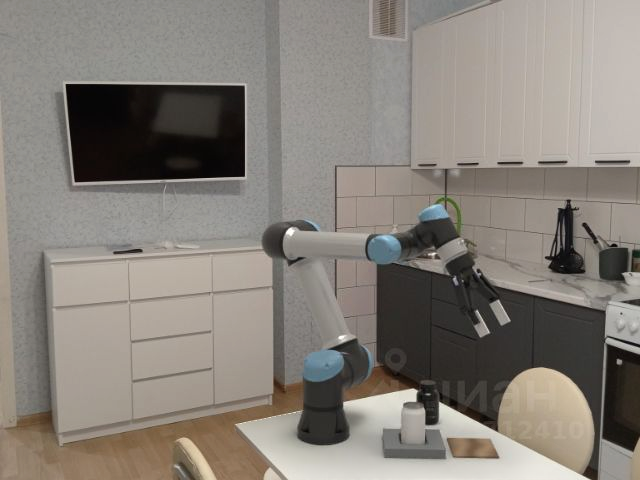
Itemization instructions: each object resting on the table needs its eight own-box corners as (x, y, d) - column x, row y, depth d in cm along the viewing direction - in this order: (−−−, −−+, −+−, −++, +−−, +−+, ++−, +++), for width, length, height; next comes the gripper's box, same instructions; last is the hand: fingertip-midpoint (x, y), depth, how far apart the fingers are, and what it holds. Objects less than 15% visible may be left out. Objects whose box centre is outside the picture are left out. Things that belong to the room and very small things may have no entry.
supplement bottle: (442, 419, 199) (442, 381, 198) (434, 426, 193) (434, 387, 192) (421, 415, 202) (421, 377, 201) (412, 422, 197) (412, 383, 195)
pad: (453, 457, 172) (453, 455, 172) (446, 439, 184) (446, 437, 184) (499, 458, 171) (499, 456, 171) (490, 440, 183) (490, 438, 183)
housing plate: (384, 457, 172) (384, 448, 172) (382, 436, 186) (382, 428, 185) (445, 458, 171) (445, 449, 171) (439, 437, 185) (439, 429, 184)
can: (424, 453, 174) (424, 409, 173) (400, 451, 176) (400, 408, 175) (425, 443, 181) (425, 401, 180) (402, 442, 182) (402, 400, 181)
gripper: (445, 258, 163) (487, 334, 159) (486, 245, 183) (525, 313, 178) (423, 271, 167) (463, 346, 163) (465, 257, 187) (502, 324, 182)
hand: (495, 329), depth 170 cm, fingers open, 13 cm apart
